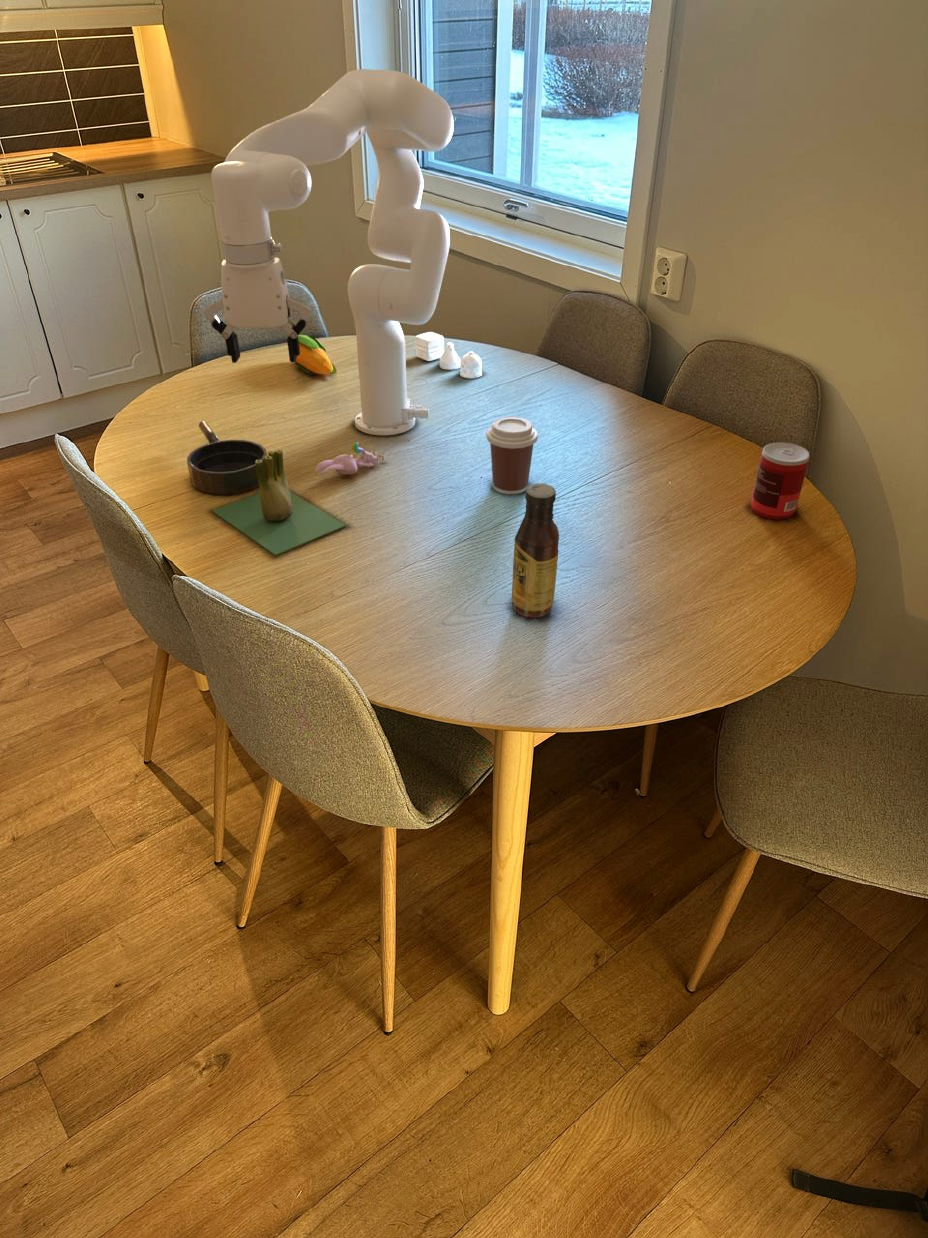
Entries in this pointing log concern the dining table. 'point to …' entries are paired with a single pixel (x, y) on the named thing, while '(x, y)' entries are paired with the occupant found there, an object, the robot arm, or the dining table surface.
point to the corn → (313, 356)
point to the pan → (225, 466)
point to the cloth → (279, 523)
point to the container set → (447, 355)
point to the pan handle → (208, 432)
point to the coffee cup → (511, 453)
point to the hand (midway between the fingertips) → (265, 359)
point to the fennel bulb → (273, 487)
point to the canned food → (779, 480)
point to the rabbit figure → (350, 461)
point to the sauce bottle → (536, 554)
